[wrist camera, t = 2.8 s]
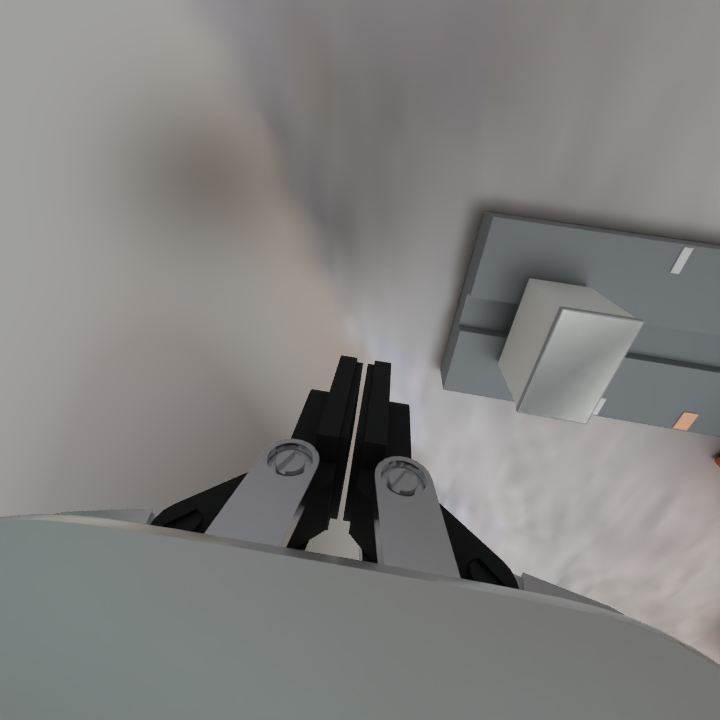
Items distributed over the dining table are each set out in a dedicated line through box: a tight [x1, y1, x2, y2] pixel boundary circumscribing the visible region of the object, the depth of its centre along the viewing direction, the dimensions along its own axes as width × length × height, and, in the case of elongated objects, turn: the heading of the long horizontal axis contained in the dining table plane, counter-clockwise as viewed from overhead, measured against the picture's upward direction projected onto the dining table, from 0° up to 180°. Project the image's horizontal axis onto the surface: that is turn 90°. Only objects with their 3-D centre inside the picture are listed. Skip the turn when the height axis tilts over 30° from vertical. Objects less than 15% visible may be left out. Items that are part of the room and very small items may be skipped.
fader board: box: [441, 211, 720, 437], centre depth 19 cm, size 18×10×4 cm, turn 83°
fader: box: [498, 278, 645, 424], centre depth 17 cm, size 3×5×5 cm, turn 173°
